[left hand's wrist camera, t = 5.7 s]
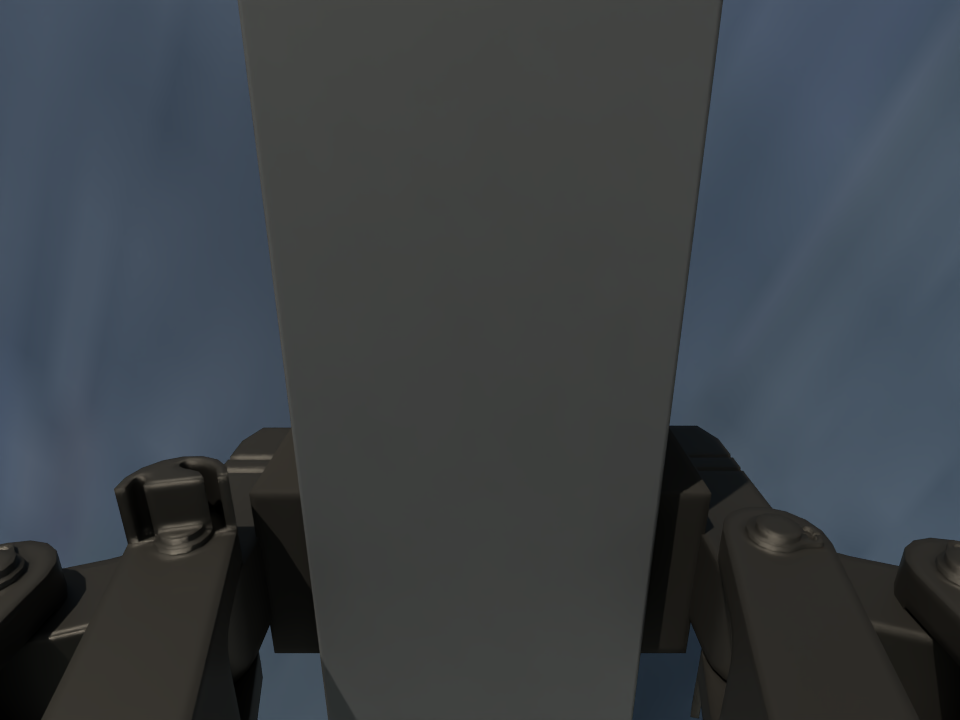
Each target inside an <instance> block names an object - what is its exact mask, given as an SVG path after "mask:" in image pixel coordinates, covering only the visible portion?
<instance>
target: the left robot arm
mask: <svg viewBox="0 0 960 720" xmlns="http://www.w3.org/2000/svg"><path fill="white" fill-rule="evenodd" d="M114 491H115V495H116V499H117V502H118V506H119V510H120V514H121V518H122V522H123V526H124V530H125V534H126V538H127V542H128V545H127V547H126V549H125V551H124V553H123V555H122V556H120V557H116V558H112V559H108V560H103V561H98V562H93V563H88V564H83V565H78V566H73V567H68V568H63V569H62V567H61V564H60V560H59V557H58V554H57V551H56V550H55V549H54V548H53V547H52V546H50V545H49V544H48V543H43V542H37V541H22V542H13V543H5V544H0V720H257V718H258V710H259V702H260V695H261V687H262V679H263V676H262V668H261V661H260V656H259V649H260V647H261V644H262V642H263V640H264V637H265V635H266V633H267V630H268V628H269V626H270V627H271V633H272V639H273V645H274V651H275V653H320V650H319V642H318V634H317V626H316V618H315V610H314V602H313V594H312V586H311V578H310V570H309V562H308V554H307V546H306V539H305V531H304V523H303V515H302V507H301V499H300V491H299V483H298V475H297V467H296V459H295V451H294V443H293V435H292V427H291V428H262V429H261V430H259V431H258V432H256V433H254V434H253V435H251V436H250V437H248V438H246V439H245V440H243V441H242V442H241V444H240V445H239V446H238V447H237V449H236V450H235V451H234V453H233V454H232V455H231V457H230V460H227V462H226V463H225V464H223V463H221V462H220V461H219V460H217V459H213V458H208V457H204V456H189V457H179V458H174V459H168V460H163V461H160V462H157V463H154V464H152V465H149V466H146V467H143V468H141V469H139V470H138V471H136V472H134V473H133V474H131V475H129V476H127V477H126V478H124V479H123V480H122V481H121V482H120V484H119V485H118V486H117V487H116V488H115V489H114ZM690 623H691V624H692V626H693V629H694V631H695V633H696V636H697V638H698V640H699V643H700V645H701V647H702V650H701V656H700V661H699V667H698V673H697V679H696V684H695V690H694V696H693V702H692V709H691V716H690V717H694V718H699V714H700V708H701V709H702V717H703V720H960V541H955V540H946V539H937V538H926V539H920V540H914V541H913V542H911V543H910V544H909V545H908V546H906V547H905V549H904V552H903V556H902V559H901V562H900V565H899V566H896V565H891V564H886V563H881V562H876V561H871V560H866V559H861V558H856V557H851V556H847V555H843V554H840V553H837V552H836V550H835V548H834V546H833V544H832V543H831V541H830V540H829V539H828V538H827V537H826V535H825V534H824V533H823V532H822V531H821V530H820V529H818V528H817V527H816V526H814V525H813V524H811V523H810V522H808V521H807V520H805V519H803V518H800V517H798V516H795V515H793V514H791V513H788V512H785V511H781V510H776V509H772V508H771V506H770V505H769V504H768V502H767V501H766V500H765V498H764V497H763V496H762V495H761V493H760V492H759V491H758V489H757V488H756V487H755V486H754V484H753V483H752V482H751V480H750V479H749V478H748V477H747V475H746V474H745V473H744V471H741V470H740V466H739V465H738V464H737V462H736V461H735V460H734V459H733V458H731V457H730V453H729V452H728V451H727V450H726V448H725V447H724V446H723V444H722V443H721V442H720V440H719V439H717V438H716V437H714V436H713V435H711V434H709V433H708V432H706V431H705V430H703V429H701V428H700V427H698V426H669V432H668V440H667V448H666V455H665V463H664V471H663V479H662V487H661V495H660V503H659V511H658V519H657V527H656V535H655V542H654V550H653V558H652V566H651V574H650V582H649V590H648V598H647V606H646V614H645V622H644V630H643V637H642V645H641V653H686V648H687V642H688V635H689V629H690Z"/></svg>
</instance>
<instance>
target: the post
mask: <svg viewBox="0 0 960 720" xmlns="http://www.w3.org/2000/svg"><path fill="white" fill-rule="evenodd" d="M722 4H723V0H238V6H239V14H240V22H241V30H242V38H243V46H244V54H245V62H246V70H247V78H248V86H249V94H250V102H251V110H252V117H253V125H254V133H255V141H256V149H257V157H258V165H259V173H260V181H261V189H262V197H263V205H264V213H265V221H266V229H267V237H268V245H269V253H270V260H271V268H272V276H273V284H274V292H275V300H276V308H277V316H278V324H279V332H280V340H281V348H282V356H283V364H284V372H285V380H286V388H287V396H288V403H289V411H290V419H291V427H292V435H293V443H294V451H295V459H296V467H297V475H298V483H299V491H300V499H301V507H302V515H303V523H304V531H305V539H306V546H307V554H308V562H309V570H310V578H311V586H312V594H313V602H314V610H315V618H316V626H317V634H318V642H319V650H320V658H321V666H322V674H323V682H324V689H325V697H326V705H327V713H328V720H632V717H633V709H634V701H635V693H636V685H637V677H638V669H639V661H640V653H641V645H642V637H643V630H644V622H645V614H646V606H647V598H648V590H649V582H650V574H651V566H652V558H653V550H654V542H655V535H656V527H657V519H658V511H659V503H660V495H661V487H662V479H663V471H664V463H665V455H666V448H667V440H668V432H669V424H670V416H671V408H672V400H673V392H674V384H675V376H676V368H677V360H678V353H679V345H680V337H681V329H682V321H683V313H684V305H685V297H686V289H687V281H688V273H689V265H690V258H691V250H692V242H693V234H694V226H695V218H696V210H697V202H698V194H699V186H700V178H701V170H702V163H703V155H704V147H705V139H706V131H707V123H708V115H709V107H710V99H711V91H712V83H713V75H714V68H715V60H716V52H717V44H718V36H719V28H720V20H721V12H722Z"/></svg>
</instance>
